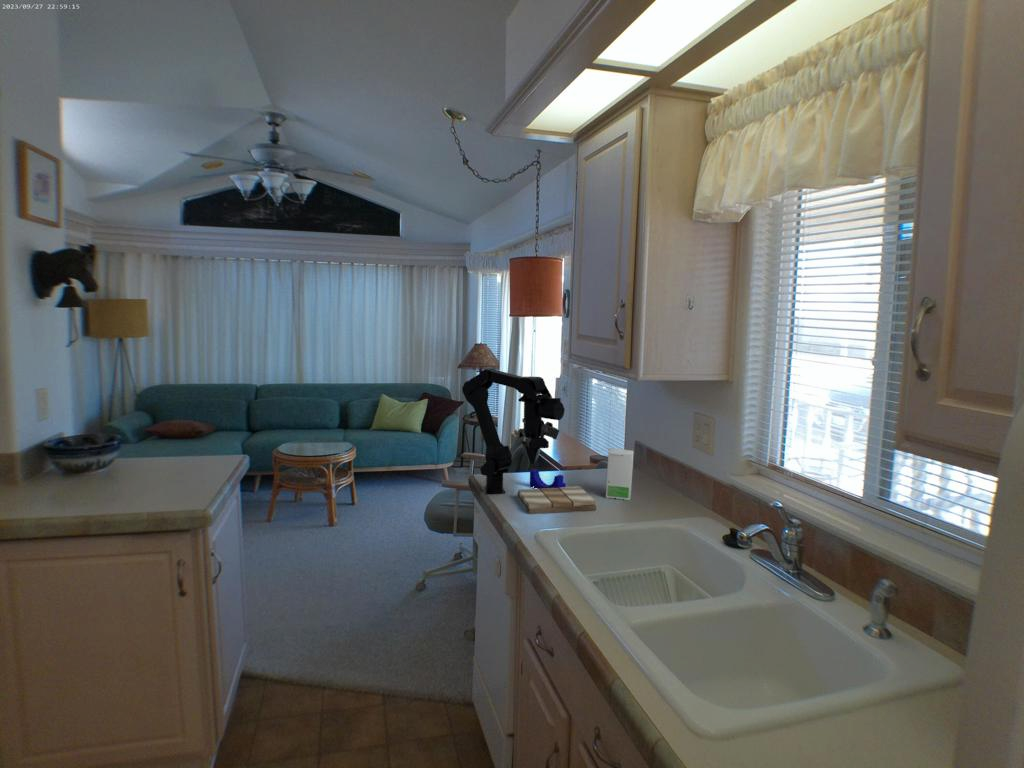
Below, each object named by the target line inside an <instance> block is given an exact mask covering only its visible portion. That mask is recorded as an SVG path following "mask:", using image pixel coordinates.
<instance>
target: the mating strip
mask: <svg viewBox="0 0 1024 768" xmlns="http://www.w3.org/2000/svg"><path fill="white" fill-rule="evenodd" d="M540 490H541V491H542V493H543V494H544V495H545V496H546V497H547V499H548V500H549V501H550V502H551V503H552V507H566V506H572V502H571V501H570V500H569V499H568V498H567V497H566V496H565V495H564V494H563V493H562V492H561V490H560V489H559V488H540Z"/></svg>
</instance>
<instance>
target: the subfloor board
mask: <svg viewBox="0 0 1024 768" xmlns="http://www.w3.org/2000/svg"><path fill="white" fill-rule="evenodd" d="M516 496H518V497H517V498H518V500H519V499H520V500H519V501H520V502H521V504H522V506H525V507H524V508H525V509H527V510H526V511H527V512H528V514H529V515H539V514H560V513H575V511H576V513H578V512H577V511H582V512H595V510H596V511H597V505H596V504H595V505H580V506H573V505H572V506H566V507H545V508H529V507H528V506H527V505H526V503H525V502H524V500H523V499H522V498H521V496H520V495H519V493H518V492H517V495H516Z"/></svg>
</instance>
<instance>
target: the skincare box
mask: <svg viewBox="0 0 1024 768" xmlns="http://www.w3.org/2000/svg"><path fill="white" fill-rule="evenodd" d="M633 465H634V450H629V449H622V448H612V447H611V448H608V452H607V465H606V466H607V467H606V469H607V470H606V481H605V482H606V485H605V498H607V499H614V498H616V499H615V500H623V499H624V501H625V500H626V501H630V500H631V497H632V480H633V479H632V478H633V469H634V468H633Z"/></svg>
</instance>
